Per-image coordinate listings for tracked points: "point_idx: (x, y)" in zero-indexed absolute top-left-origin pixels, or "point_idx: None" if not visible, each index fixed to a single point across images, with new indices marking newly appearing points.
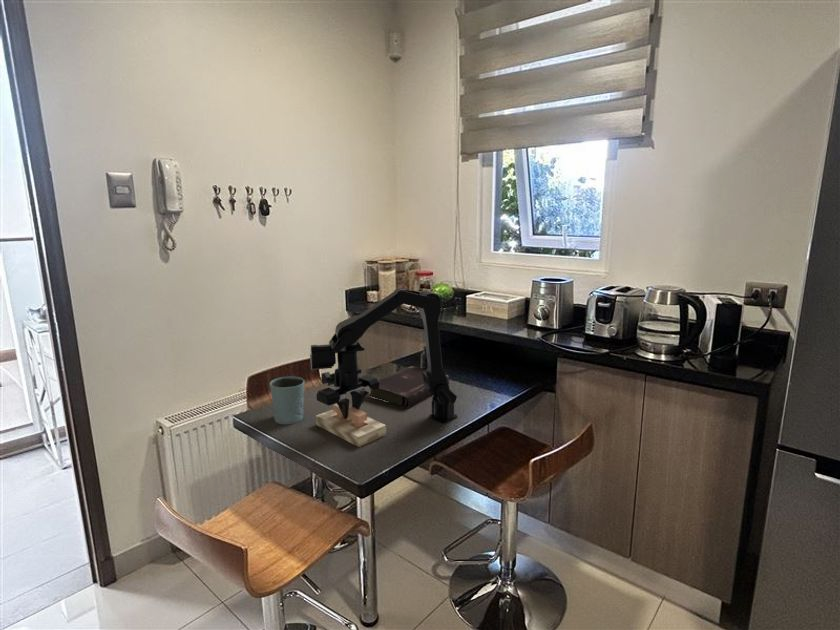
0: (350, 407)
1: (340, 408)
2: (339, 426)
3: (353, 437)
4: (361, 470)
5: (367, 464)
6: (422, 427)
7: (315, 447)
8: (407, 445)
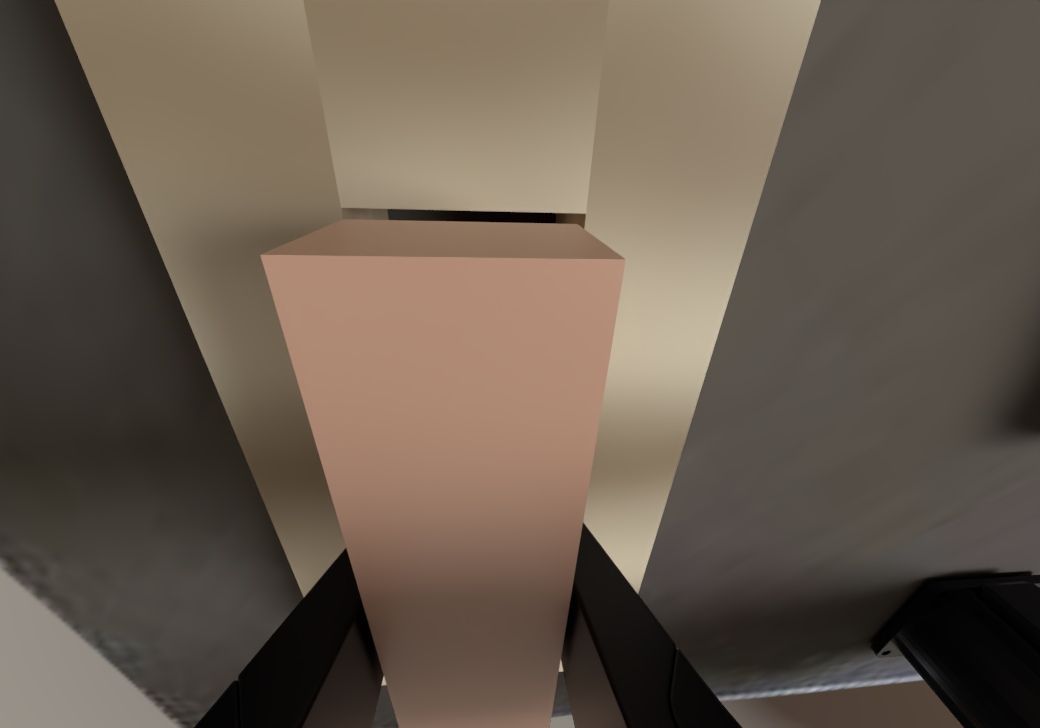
0: (526, 608)
1: (238, 711)
2: (286, 515)
3: None
4: None
5: None
6: (782, 623)
7: (40, 454)
8: None
